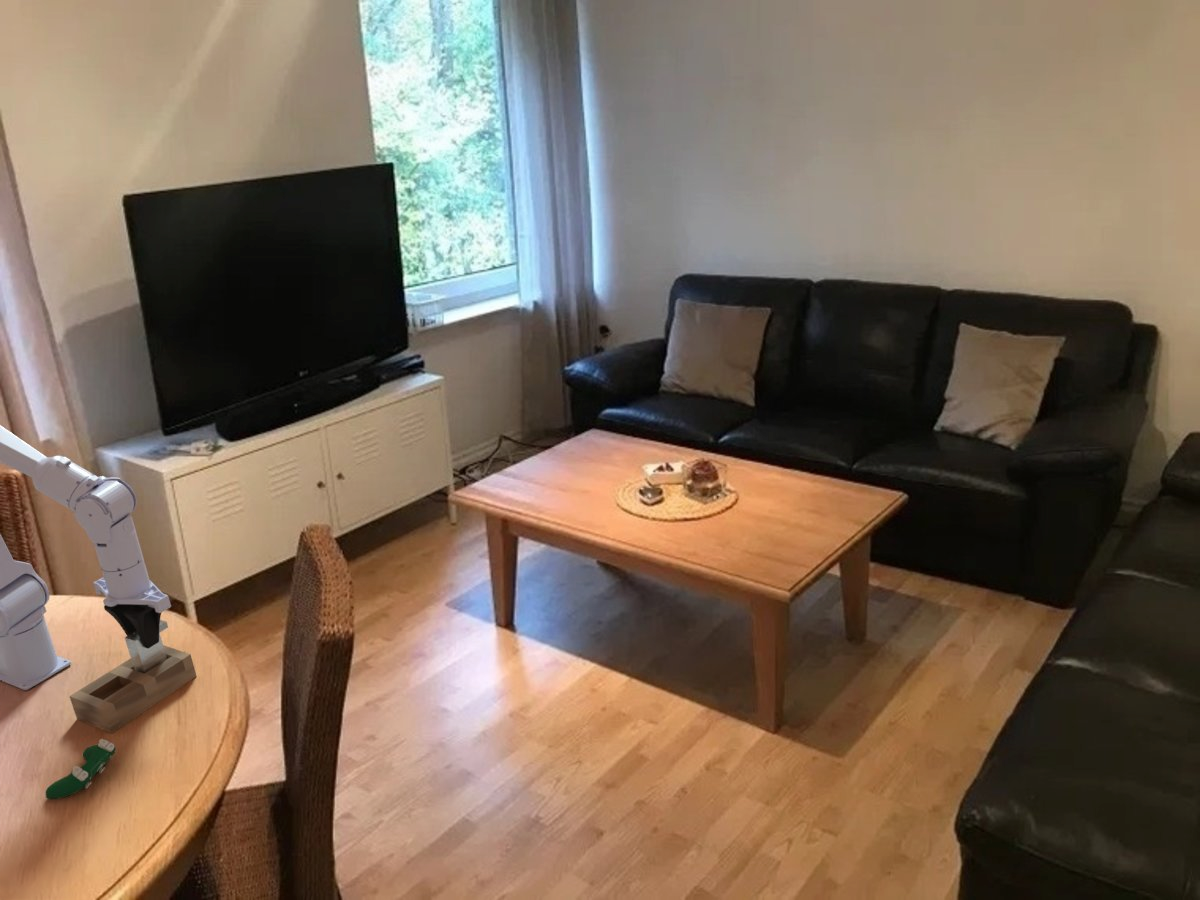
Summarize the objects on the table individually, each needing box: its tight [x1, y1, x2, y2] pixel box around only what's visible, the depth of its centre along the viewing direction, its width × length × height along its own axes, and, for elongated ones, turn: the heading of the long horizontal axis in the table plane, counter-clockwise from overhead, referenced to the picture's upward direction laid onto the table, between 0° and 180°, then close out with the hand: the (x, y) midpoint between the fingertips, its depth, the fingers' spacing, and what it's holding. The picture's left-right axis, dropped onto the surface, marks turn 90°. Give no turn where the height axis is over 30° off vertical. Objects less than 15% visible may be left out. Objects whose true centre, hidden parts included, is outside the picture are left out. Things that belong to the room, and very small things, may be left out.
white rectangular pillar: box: [124, 619, 169, 674], centre depth 158 cm, size 2×6×7 cm, turn 149°
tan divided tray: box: [69, 644, 197, 734], centre depth 157 cm, size 8×15×4 cm, turn 149°
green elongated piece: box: [45, 738, 117, 800], centre depth 140 cm, size 9×4×6 cm
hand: (145, 642), depth 157 cm, fingers closed on white rectangular pillar, 2 cm apart
